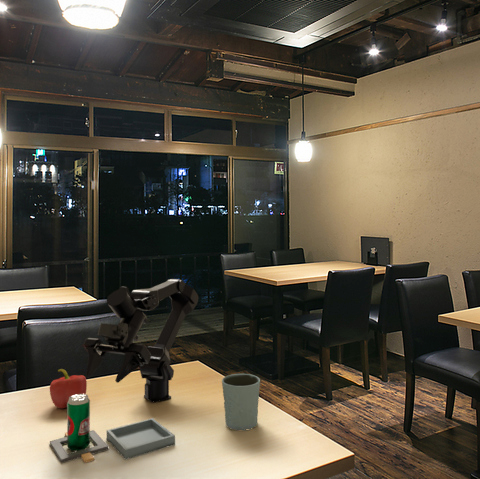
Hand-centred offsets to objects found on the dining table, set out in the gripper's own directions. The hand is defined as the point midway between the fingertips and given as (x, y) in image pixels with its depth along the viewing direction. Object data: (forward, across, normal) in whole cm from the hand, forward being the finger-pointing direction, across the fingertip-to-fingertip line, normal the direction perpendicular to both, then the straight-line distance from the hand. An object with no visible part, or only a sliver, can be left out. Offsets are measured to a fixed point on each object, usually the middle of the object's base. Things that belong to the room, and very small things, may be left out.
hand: (101, 379), depth 114 cm
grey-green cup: (-3, +31, +23) cm, 38 cm away
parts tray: (+10, +12, +9) cm, 18 cm away
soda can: (+16, 0, +4) cm, 16 cm away
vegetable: (+2, -21, +17) cm, 27 cm away
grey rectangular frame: (+16, 0, +4) cm, 16 cm away
